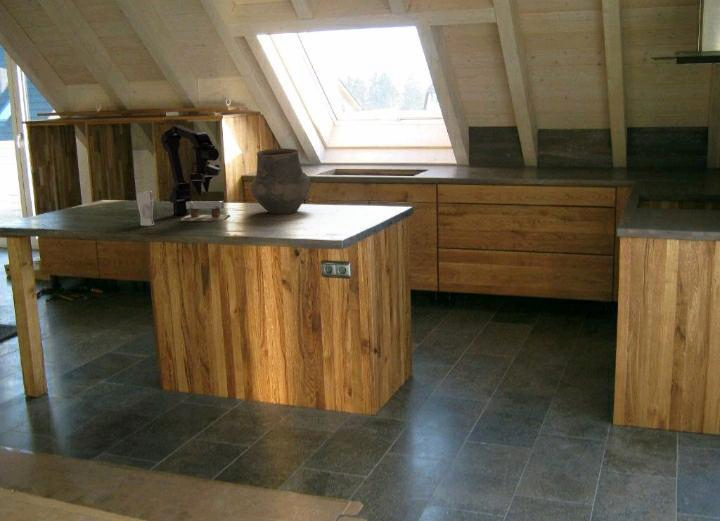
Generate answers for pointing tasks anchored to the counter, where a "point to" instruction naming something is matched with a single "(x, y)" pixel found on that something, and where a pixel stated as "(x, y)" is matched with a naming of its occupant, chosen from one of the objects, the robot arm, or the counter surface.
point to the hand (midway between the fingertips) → (203, 193)
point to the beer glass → (145, 207)
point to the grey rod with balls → (205, 205)
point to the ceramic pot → (280, 181)
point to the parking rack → (205, 216)
